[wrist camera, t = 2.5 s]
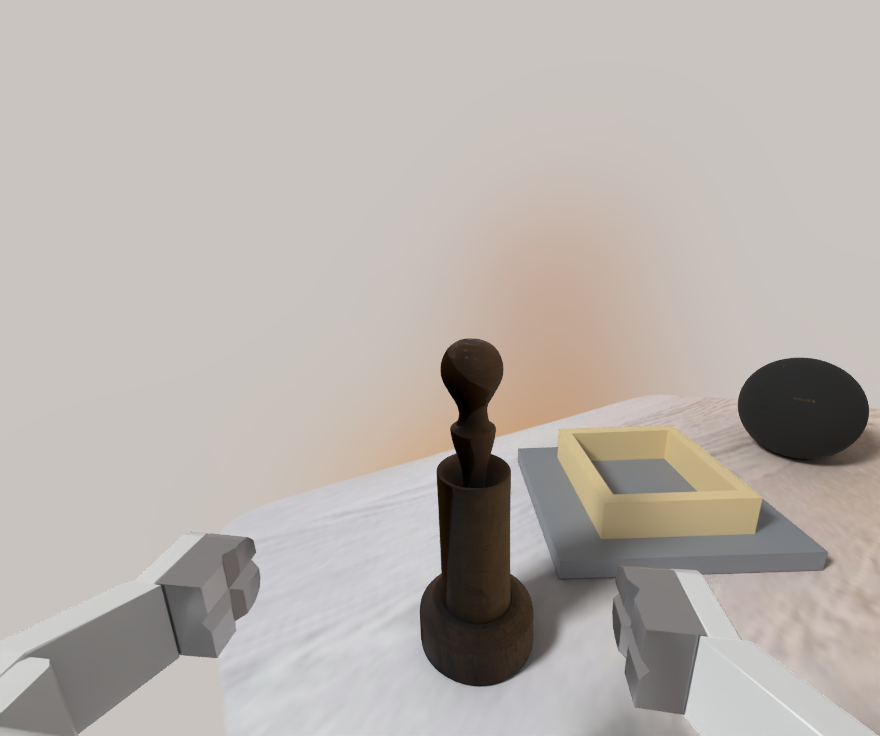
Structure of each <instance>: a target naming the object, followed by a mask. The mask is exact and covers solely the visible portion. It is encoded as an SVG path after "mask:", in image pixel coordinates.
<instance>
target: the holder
mask: <svg viewBox="0 0 880 736" xmlns="http://www.w3.org/2000/svg"><path fill="white" fill-rule="evenodd" d="M518 463H519V466H520V469H521V472H522V475H523V477H524V480H525V483H526V486H527V489H528V492H529V494H530V497H531V500H532V503H533V506H534V509H535V512H536V514H537V517H538V520H539V523H540V526H541V529H542V532H543V534H544V537H545V540H546V543H547V546H548V549H549V552H550V554H551V557H552V560H553V563H554V566H555V569H556V572H557V574H558V577H559V579H571V578H601V577H616V574H617V570H618V567H619V566H631V567H645V568H660V569H686V570H697V571H699V572H700V573H701V574H721V573H751V572H781V571H811V570H823V568H824V565H825V561H826V557H827V554H828V551H826V550H825V549H824V548H823V547H821V546H820V545H819V544H818V543H816V542H815V541H814V540H813V539H812V538H810V537H809V536H808V535H807V534H805V533H804V532H803V531H802V530H801V529H799V528H798V527H797V526H796V525H794V524H793V523H792V522H791V521H789V520H788V519H787V518H786V517H785V516H783V515H782V514H781V513H780V512H778V511H777V510H776V509H775V508H773V507H772V506H771V505H770V504H769V503H767V502H766V501H765V500H764V499H762V497H761V496H760V495H759V494H757V493H756V492H755V491H754V490H752V489H751V488H750V487H749V486H747V485H746V484H745V483H744V482H742V481H741V480H740V479H739V478H738V477H736V476H735V475H734V474H733V473H731V472H730V471H729V470H728V469H726V468H725V467H724V466H723V465H722V464H720V463H719V462H718V461H717V460H715V459H714V458H713V457H712V456H710V455H709V454H708V453H707V452H706V451H704V450H703V449H702V448H701V447H699V446H698V445H697V444H696V443H694V442H693V441H692V440H691V439H690V438H688V437H687V436H686V435H685V434H683V433H682V432H681V431H680V430H678V429H677V428H676V427H675V426H673V425H664V426H636V427H608V428H580V429H559V433H558V447H552V448H524V449H518Z"/></svg>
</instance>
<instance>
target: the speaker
mask: <svg viewBox="0 0 880 736" xmlns="http://www.w3.org/2000/svg"><path fill="white" fill-rule="evenodd" d="M738 412H739V416H740V419H741V422H742V424H743V426H744V427H745V429H746V430H747V432H748V433H749V434H750V435H751V437H752V438H754V439H755V440H756V441H757V442H758V443H759V444H761V445H762V446H764V447H765V448H767V449H769V450H771V451H773V452H776V453H778V454H781V455H784V456H788V457H793V458H803V459H812V458H821V457H826V456H830V455H833V454H836V453H838V452H840V451H842V450H844V449H846V448H847V447H849V446H850V445H852V444H853V443H854V442H855V441H856V440H857V439H858V438H859V437H860V435H861V434H862V433H863V431H864V429H865V427H866V425H867V422H868V417H869V405H868V401H867V398H866V395H865V393H864V391H863V389H862V388H861V386H860V385H859V383H858V382H857V381H856V380H855V379H854V378H853V377H852V376H851V375H850V374H848V373H847V372H845V371H844V370H842V369H841V368H839V367H837V366H835V365H832V364H830V363H827V362H825V361H821V360H817V359H811V358H789V359H782V360H778V361H775V362H772V363H770V364H767V365H765V366H763V367H762V368H760V369H758V370H757V371H756V372H755V373H753V374H752V375H751V376H750V377H749V378H748V379H747V381H746V382H745V384H744V386H743V387H742V389H741V391H740V395H739V399H738Z"/></svg>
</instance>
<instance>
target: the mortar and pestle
mask: <svg viewBox="0 0 880 736" xmlns="http://www.w3.org/2000/svg"><path fill="white" fill-rule="evenodd" d="M502 376H503V362H502V359H501V356H500V354H499V352H498V351H497V349H496V348H495V347H494V346H493V345H491V344H490V343H488V342H486V341H483V340H480V339H462V340H459V341H457V342H455V343H454V344H452V345H451V346H450V347H449V348H448V349H447V351H446V352H445V354H444V356H443V359H442V362H441V377H442V380H443V383H444V385H445V386H446V388H447V389H448V391H449V393H450V395H451V396H452V398H453V399H454V401H455V402H456V404H457V406H458V410H459V418H458V421H457V422H455V423H454V424H452V426H451V428H450V431H451V436H452V441H453V444H454V447H455V450H456V453H457V454H454V455H451V456H449V457H447V458H446V459H444V460H443V461H442V462H441V463H440V464H439V465H438V467H437V487H438V506H439V526H440V547H441V570H442V574H440V575H439V576H437V577H436V578H435V579H434V580H433V581H432V582H431V583H430V584H429V585H428V587H427V588H426V590H425V592H424V594H423V596H422V599H421V604H420V624H421V640H422V645H423V649H424V652H425V654H426V656H427V658H428V660H429V661H430V663H431V664H432V665H433V666H434V667H435V668H436V669H437V670H438V671H439V672H440V673H442V674H443V675H444V676H446V677H448V678H450V679H452V680H454V681H456V682H459V683H462V684H466V685H472V686H484V685H491V684H495V683H498V682H501V681H503V680H504V679H506V678H508V677H509V676H511V675H513V674H514V673H516V672H517V671H518V670H519V669H520V668H521V667H522V666H523V664H524V663H525V662H526V660H527V658H528V656H529V654H530V651H531V647H532V641H533V607H532V602H531V598H530V596H529V593H528V591H527V590H526V588H525V587H524V585H523V584H522V583H521V582H520V581H519V580H518V579H517V578H516V577H514V576H513V575H511V574H510V489H511V470H510V467H509V465H508V464H507V463H506V462H505V461H504V460H503V459H501V458H499V457H497V456H495V455H492V454H491V451H492V447H493V443H494V439H495V432H496V427H495V425H494V424H493V423H492V422H490V421H489V419H488V414H487V406H488V403H489V402H490V400H491V398H492V397H493V395H494V393H495V391H496V390H497V388H498V386H499V384H500V382H501V380H502Z"/></svg>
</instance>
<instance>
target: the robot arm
mask: <svg viewBox="0 0 880 736" xmlns="http://www.w3.org/2000/svg"><path fill="white" fill-rule="evenodd" d="M255 553H256V549H255V545H254V541H253V540H252V539H250V538H248V537H239V536H230V535H220V534H206V533H195V532H190V533H187V534H184V535H183V536H182V537H181V538H180V539H178V540H177V541H176V542H175V543H174V544H173V545H172V546H171V547H170V548H169V549H168V550H167V551H166V552H164V553H163V554H162V555H161V556H160V557H159V558H158V559H157V560H156V561H155V562H154V563H153V564H152V565H150V566H149V567H148V568H147V569H146V570H145V571H144V572H143V573H142V574H141V575H140V576H139V577H137V578H136V579H135V580H134V581H133V582H124V583H122V584H120V585H118V586H116V587H114V588H112V589H110V590H107V591H105V592H103V593H101V594H99V595H97V596H95V597H93V598H90V599H88V600H86V601H84V602H82V603H80V604H78V605H75V606H73V607H71V608H69V609H67V610H65V611H63V612H60V613H58V614H56V615H54V616H52V617H50V618H48V619H46V620H43V621H42V622H39V623H37V624H35V625H33V626H31V627H29V628H26V629H25V630H22V631H20V632H18V633H16V634H14V635H11V636H10V637H7V638H5V639H3V640H1V641H0V736H78V734H79V733H80V732H82V731H83V730H84V729H86V728H87V727H88V726H89V725H91V724H92V723H93V722H95V721H96V720H97V719H99V718H100V717H101V716H103V715H104V714H105V713H106V712H108V711H109V710H110V709H112V708H113V707H115V706H116V705H117V704H119V703H120V702H121V701H122V700H124V699H125V698H126V697H128V696H129V695H130V694H132V693H133V692H134V691H136V690H137V689H138V688H140V687H141V686H142V685H144V684H145V683H146V682H148V681H149V680H150V679H151V678H153V677H154V676H155V675H157V674H158V673H159V672H160V671H162V670H163V669H165V668H166V667H167V666H169V665H170V664H171V663H173V662H174V661H175V660H177V659H178V658H179V655H185V656H197V657H210V658H218V656H219V655H220V653H221V652H222V650H223V649H224V647H225V646H226V644H227V643H228V642H229V640H230V639H231V637H232V636H233V634H234V633H235V631H236V622H235V621H236V620H238V619H239V618H241V617H242V616H244V615H245V614H247V613H248V612H249V610H250V609H251V607H252V606H253V604H254V603H255V600H256V597H257V594H258V591H259V588H260V572H259V568H258V567H257V566H256V564H255V563H254V562H253V561H252V560H251V559H252V558H253V556H254V555H255ZM616 584H617V587H618V590H619V594H618V595H617V596H616V597H615V598H614V599H613V611H612V614H613V629H614V634H615V639H616V643H617V647H618V651H619V652H620V653H621V654H622V655H623V656H624V657H625V658H626V665H625V675H626V679H627V682H628V686H629V689H630V692H631V696H632V699H633V703H634V706H635V708H642V709H649V710H656V711H662V712H669V713H676V714H683V715H685V719H686V720H687V721H688V722H689V723H690V725H691V726H692V727H693V728H694V729H695V731H696V732H697V733H698V734H699V735H700V736H879V735H877V734H876V733H874V732H873V731H872V730H870V729H869V728H868V727H866V726H865V725H864V724H862V723H861V722H860V721H858V720H857V719H856V718H854V717H853V716H851V715H850V714H849V713H847V712H846V711H845V710H843V709H842V708H841V707H839V706H838V705H837V704H835V703H834V702H833V701H831V700H830V699H828V698H827V697H826V696H824V695H823V694H822V693H820V692H819V691H818V690H816V689H815V688H814V687H812V686H811V685H809V684H808V683H807V682H805V681H804V680H803V679H801V678H800V677H799V676H797V675H796V674H795V673H793V672H792V671H791V670H789V669H788V668H786V667H785V666H784V665H782V664H781V663H780V662H778V661H777V660H776V659H774V658H773V657H772V656H770V655H769V654H768V653H766V652H765V651H763V650H762V649H761V648H759V647H758V646H757V645H755V644H754V643H753V642H751V641H746V640H742V639H741V638H740V636H739V634H738V633H737V631H736V630H735V628H734V626H733V625H732V623H731V621H730V620H729V618H728V616H727V615H726V613H725V611H724V610H723V608H722V606H721V605H720V603H719V601H718V600H717V598H716V597H715V595H714V593H713V592H712V590H711V588H710V587H709V585H708V583H707V582H706V580H705V578H704V577H703V575H702V574H701V573H700V572H699V571H697V570H686V569H660V568H645V567H631V566H619V567H618V570H617V574H616Z"/></svg>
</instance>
